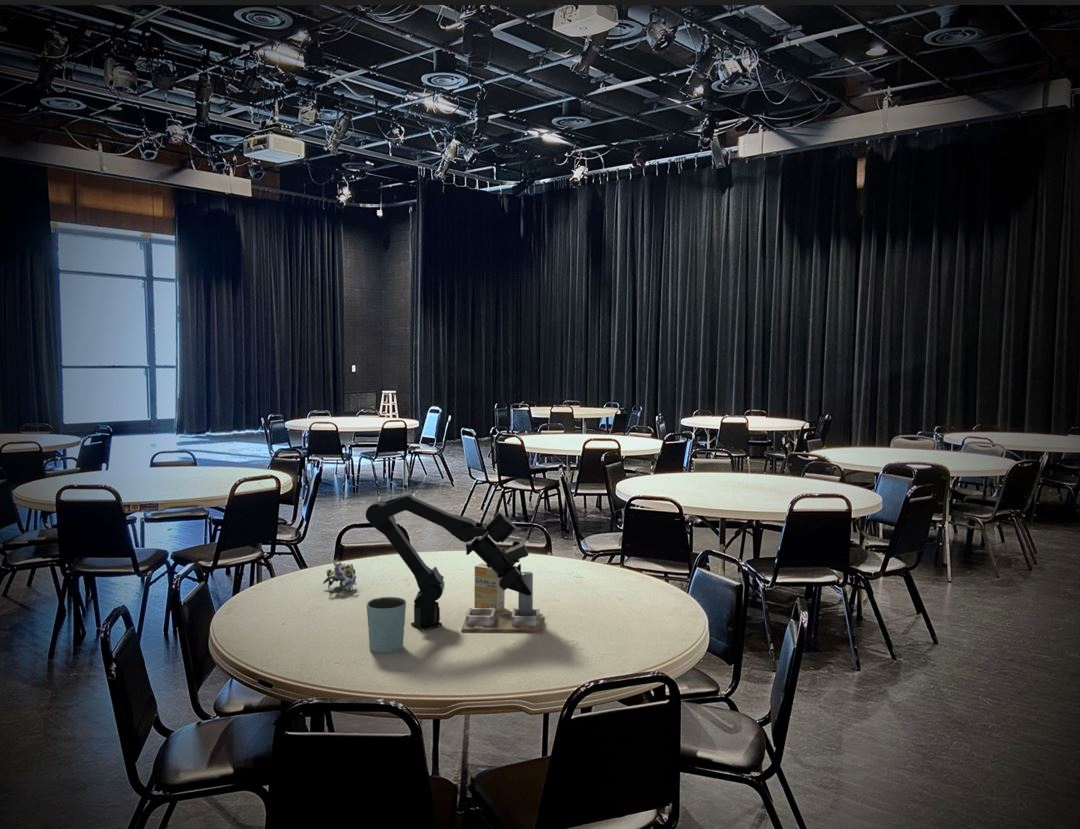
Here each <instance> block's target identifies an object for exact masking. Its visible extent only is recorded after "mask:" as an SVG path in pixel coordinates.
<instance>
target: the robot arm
mask: <svg viewBox="0 0 1080 829" xmlns="http://www.w3.org/2000/svg"><path fill="white" fill-rule="evenodd" d="M404 511H406V512H409V513H411V514H413V515H415V516H418V517H419V518H422V519H424V520H426V521H428V522H430V523H433V524H435V525H437V526H439V527H441V528H443V529H445V530H446V531H447V532H448V533H449V534H450V535H452V536H453V537H455V538H456V539H458V540H459V541H460V542H463V543H466V544H465V549H466V551H465V552H466V553H465V555H466V556H469V555H470V554H471V553H472V552H474V553H475V554H476V556H478V557H479V558H480V559H481V560H482V561H483V563H485V564H487V565H486V566H487V567H488V568H491V569H492V570H493V571H494V572H495V573H496V574H497V577H498V578H499V586H500V587H501V588H502V589H503V590H505V591H506V590H507V589H508V590H511V591H515V592H517V593H519V592H520V593H522V594H525V595H528V596H530V595H531V594H532V593H531V591H530V590H529V588H528V587H527V585H526V584H525V583H524V581H523V580H522V579H521V572H522V564H521V563H520V562H521V561H520V559H523V558H527V557H528V556H529V550H528V548H527V547H526V544H525V542H523V541H522V542H520V540H518V539H516V540H514V541H512V545H511V546H510V547H509V548H508V549H505V548H504V547H499V545H497V544H498V543H504V542H505V541H507V539H508V538H509V537H510V536H512V534H514V532H515V531H516V530H517V529H518V528H517V526H516V525H515V523H514V522H513V521H512V520H511V519H510V518H508V517H507V516H506V515H504V514H502V513H501V512H500V511H499V512H498V513H496V515H495V516H494V518H493V519H491V520H490V521H489V522H488V523H483V522H477V521H476V520H475V519H473V518H470V517H467V516H463V515H458V514H452V513H449V512H447V511H445V510H442V509H440V508H438V507H436V506H433V505H431V504H430V503H427V502H426V501H423V500H421V499H418V498H416V497H414V496H413V495H412V494H410V493H408V494H407V493H406V494H403V495H402V496H399V497H395V498H392V499H389V500H386V501H385V500H384V501H383V500H376V501H374V502H373V503H372V504H371V505H369V506H368V507H367V509H366V512H365V518H366V519H365V520H367V522H368V523H369V524H370V525H372V527H374V528H375V530H376V531H378V532H380V534H383V535H384V536H385V537H386V539H387V540H388V541H389V543H390V545H391V546H392V547H393V548H394V550H395V551H396V552H397V554H398V556H399V557H400V558H401V559H402V561H403V563H405V565H406V566H407V568H408V569H409V570H410V571H411V573H412V574H413V576H414V578H415V579H414V580H416V581H415V582H416V584H417V587H418V589H419V590H418V591H417V593H416V596H415V598H414V599H413V603H414V604H413V622H411V623H410V625H411V626H413V627H416V628H418V629H420V630H421V631H422V630H428V629H432V628H436V627H440V626H442V625H443V623H442V622H440V620H441V616H440V615H441V610H440V609H441V608H440V606H439V605H440V604H439V603H440V602H438V601H437V600H439V599H440V598H442V595H443V592H444V590H445V581H444V579H445V577H444V576H443V575H441V573H440V571H439V569H438V568H437V566H434V567H433V568H430V567H429V566H428V565H427V564H426V563H425V562H424V560H423V559H422V558H421V556H420V555H419V553H418V552H417V551H416V549H415V548H414V547H413V545H412V544H411V543H410V541H409V540H408V538H407V537H406V536H405V534H404V533H403V531H402V530H401V529H400V528H399V527H400V526H398V524H397V520H396V518H395V516H396V515H397V514H399V513H402V512H404ZM394 515H395V516H394ZM468 542H469V543H468ZM496 543H497V544H496ZM516 563H519V564H518V565H517V566H516V565H515V564H516Z"/></svg>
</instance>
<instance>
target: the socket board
mask: <svg viewBox="0 0 1080 829" xmlns="http://www.w3.org/2000/svg"><path fill="white" fill-rule="evenodd" d="M540 609H541V608H533V616H518V608H513V609H512V612H511V613H497V612H496V608H474V607H469V608H468V611H467V612H466V615H465V619H464V622H463V625H462V627H461V632H462V633H464V632H465V633H538V634H540V633H541V634H542V631H543V620H544V614H543V613H541V610H540Z"/></svg>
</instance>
